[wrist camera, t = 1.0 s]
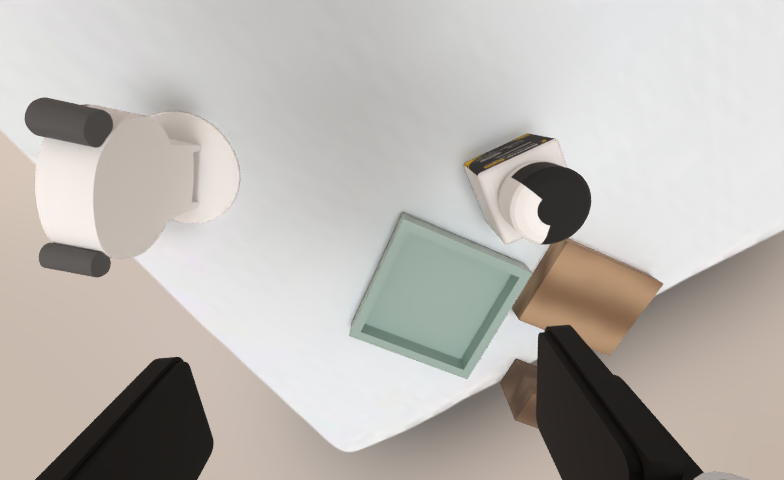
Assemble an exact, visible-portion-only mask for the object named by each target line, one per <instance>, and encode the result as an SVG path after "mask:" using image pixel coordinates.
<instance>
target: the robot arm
mask: <svg viewBox="0 0 784 480" xmlns="http://www.w3.org/2000/svg"><path fill="white" fill-rule="evenodd" d="M536 420H537V425H538V428H539V431H540V433H541V435H542V437H543V439H544V441H545V444H546V446H547V448H548V450H549V452H550V454H551V457H552V458H553V461H554V463H555V465H556V467H557V469H558V472H559V474H560V476H561V478H562V480H749V479H747V478H743V477H740V476H737V475H734V474H731V473H723V472H708V473H704V472H703V471H702V470H701V469H700V468H699V466H698V465H697V464H696V463H695V462H694V461H693V460H692V458H691V457H690V456H689V455H688V454H687V453H686V452H685V451H684V449H683V448H682V447H681V446H680V445H679V444H678V442H677V441H676V440H675V439H674V438H673V437H672V436H671V434H670V433H669V432H668V431H667V430H666V429H665V427H664V426H663V425H662V424H661V423H660V422H659V421H658V419H657V418H656V417H655V416H654V415H653V414H652V413H651V411H650V410H649V409H648V408H647V407H646V406H645V404H644V403H643V402H642V401H641V400H640V399H639V398H638V397H637V395H636V394H635V393H634V392H633V391H632V390H631V388H630V387H629V386H628V385H627V384H626V383H625V382H624V381H623V380H622V379H621V378H620V377H619V376H616V375H613V374H612V373H611V372H610V371H609V369H608V368H607V367H606V366H605V365H604V364H603V362H602V361H601V360H600V359H599V358H598V357H597V355H595V353H594V352H593V351H592V350H591V348H590V347H589V346H588V345H587V344H586V342H585V341H584V340H583V339H582V338H581V336H580V335H579V334H578V333H577V332H576V331H575V329H574V328H573V327H572V326H571V325H558V326H547V327H546V328H545V332H542V333H539V335H538V360H537V395H536ZM212 449H213V437H212V434H211V431H210V428H209V424H208V421H207V418H206V415H205V412H204V409H203V406H202V403H201V400H200V397H199V394H198V391H197V388H196V384H195V381H194V378H193V375H192V372H191V369H190V366H189V364H188V363H187V362H184V361H183V360H182V359H181V358H180V357H173V358H172V357H171V358H159V359H155V360H154V361H152V362H151V363H150V364H149V365H148V366H147V368H145V369H144V370H143V371H142V372H141V373H140V374H139V376H137V377H136V378H135V380H134V381H132V382H131V383H130V385H129V386H127V388H126V389H125V390H124V391H123V392H122V393H121V394H120V395H119V396H118V397H117V398H116V399H115V400H114V401H113V402H112V403H111V404H110V405H109V406H108V407H107V408H106V409H105V410H104V411H103V412H102V413H101V414H100V415H99V416H98V417H97V418H96V419H95V420H94V421H93V422H92V423H91V424H90V425H89V426H88V427H87V428H86V429H85V430H84V431H83V432H82V433H81V434H80V435H79V436H78V437H77V438H76V439H75V440H74V441H73V442H72V443H71V444H70V445H69V446H68V447H67V448H66V449H65V450H64V451H63V452H62V453H61V454H60V455H59V456H58V457H57V458H56V459H55V460H54V461H53V462H52V463H51V464H50V465H49V466H48V467H47V468H46V469H45V471H43V472H42V473H41V474H40V475H39V476H38V477H37V478H36V479H35V480H197V479H198V477H199V475H200V474H201V472H202V470H203V468H204V466H205V464H206V462H207V461H208V459H209V457H210V455H211V452H212Z"/></svg>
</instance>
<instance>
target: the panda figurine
mask: <svg viewBox="0 0 784 480" xmlns="http://www.w3.org/2000/svg"><path fill="white" fill-rule="evenodd" d="M25 123H26V125H27V127H28V128H29V130H30V131H31V132H32V133H34V134H35V135H38V136H42V137H45V139H44V140H43V142H42V144H41V147H40V149H39V153H38V157H37V163H36V173H35V192H36V201H37V207H38V212H39V216H40V220H41V224H42V226H43V229H44V231H45V233H46V234H47V236H48V237H49V239H50V240H51V241H52V242H53V243H48V244H46V245H44V246H43V247H42V249H41V250H40V253H39V262H40V264H41V266H42V267H44V268H50V269H55V270H60V271H66V272H71V273H76V274H82V275H87V276H92V277H101V276H103V275H105V274H106V273H107V272H108V271H109V269H110V263H111V262H110V258H115V259H125V258H131V257H135V256H137V255H140V254H142V253H143V252H145V251H146V250H147V249H149V248H150V247H151V246H152V245H153V244H154V242H155V241H156V240H157V239H158V237H159V236H160V234H161V232H162V231H163V229H164V226H165V224H166V222H167V221H168V220H170V219H172V220H175V221H179V222H183V223H202V222H207V221H210V220H212V219H215V218H217V217H218V216H220V215H222V214H223V213H224V212H225V211H226V210H227V209H229V207H230V206H231V205H232V204H233V202H234V200H235V198H236V196H237V194H238V191H239V186H240V168H239V163H238V159H237V157H236V154H235V152H234V150H233V148H232V146H231V144H230V143H229V142H228V140H227V139H226V138H225V136H224V135H223V134H222V133H221V132H220V131H219V130H218V129H217V128H216V127H214V126H213V125H212V124H210V123H209V122H208V121H206V120H204V119H202V118H200V117H198V116H195V115H192V114H189V113H185V112H176V111H171V112H162V113H158V114H155V115H152V116H150V117H148V116H143V115H138V114H134V113H129V112H125V111H120V110H116V109H111V108H106V107H102V106H97V105H78V104H73V103H69V102H64V101H59V100H55V99H50V98H40V99H37V100H35V101H33V102H32V103H31V104H30V105H29V106H28V108H27V110H26V113H25ZM109 257H110V258H109Z"/></svg>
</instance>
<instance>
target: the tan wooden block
mask: <svg viewBox="0 0 784 480" xmlns="http://www.w3.org/2000/svg"><path fill="white" fill-rule="evenodd" d="M662 285H663V283H661V282H660V281H658V280H657V279H655V278H654V277H652V276H650V275H649V274H647V273H645V272H642V271H640V270H638V269H636V268H633V267H631V266H629V265H627V264H624V263H622V262H620V261H617V260H615V259H613V258H611V257H608V256H606V255H604V254H601V253H599V252H597V251H595V250H592V249H590V248H588V247H586V246H583V245H581V244H579V243H576V242H574V241H572V240H570V239H565V240H563V241H560V242H558V243H554V244H551V245H550V247H549V248H548V250H547V252H546V253H545V255H544V257H543V258H542V260H541V261H540V263H539V265H538V266H537V268H536V270H535V271H534V273H533V274H532V276H531V278H530V279H529V281H528V283H527V284H526V286H525V287H524V289H523V291H522V292H521V294H520V296H519V297H518V299H517V300H516V302H515V304H514V305H513V307H512V309H513V311H514V312H515V314H516V316H517V317H518V319H519V320H521V321H523V322H526V323H528V324H531V325H533V326H536V327H538V328H541V329H543V330H545V328H546V327H547V326H558V325H571V326H572V327H573V328H574V329H575V331H576V332H577V333H578V334H579V335H580V336H581V338H582V339H583V340H584V341H585V342H586V344H587V345H588V346H589V347H590V348H591V349H594V350H597V351H599V352H601V353H604V354H607V355H610V354H611V353H612V352H613V350H614V349H615V348H616V346H617V345H618V344H619V342H620V341H621V340H622V338H623V337H624V335H625V334H626V333H627V332H628V330H629V329H630V328H631V326H632V325H633V324H634V322H635V321H636V320H637V318H638V317H639V316H640V314H641V313H642V312H643V311H644V309H645V308H646V307H647V305H648V304H649V303H650V301H651V300H652V298H653V297H654V296H655V295H656V293H657V292H658V291H659V289H660V288H661V287H662Z"/></svg>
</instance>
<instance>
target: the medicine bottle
mask: <svg viewBox="0 0 784 480" xmlns="http://www.w3.org/2000/svg"><path fill="white" fill-rule="evenodd" d="M464 168H465V170H466V173H467V175H468V178H469V180H470V183H471V185H472V188H473V190H474V193H475V195H476V198H477V200H478V203H479V205H480V207H481V210H482V212H483V215H484V217H485V220H486V222H487V223H488V224H489V226H490V227H491V228H492V229H493V230H494V232H495V233H496V234H497V235H498V236H499V238H500V239H501V240H502V241H503V242H504V244H510V243H512V242H515V241H517V240H519V239H522V238H525V239H526V240H528V241H530V242H533V243H536V244H554V243H558V242H560V241H563V240H565V239H567V238H569V237H570V236H572V235H573V234H574V233H575V232H577V231H578V230H579V229H580V228H581V226H582V225H583V224H584V222H585V220H586V218H587V216H588V214H589V211H590V207H591V194H590V189H589V187H588V185H587V183H586V181H585V180H584V178H583V177H582V176H581V175H580V174H578V173H577V172H575V171H573V170H571V169H569V168H567V165H566V162H565V159H564V156H563V153H562V149H561V146H560V143H559V141H558V140H557V139H554V138H549V137H543V136H538V135H532V134H526V135H524V136H522V137H519V138H517V139H515V140H513V141H511V142H509V143H506V144H504V145H502V146H500V147H498V148H496V149H494V150H491V151H489V152H487V153H485V154H483V155H481V156H479V157H476V158H474V159H472V160H470V161H468V162H466V163H465V164H464Z"/></svg>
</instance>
